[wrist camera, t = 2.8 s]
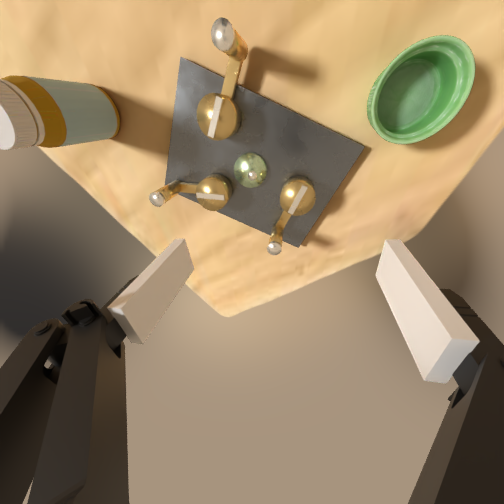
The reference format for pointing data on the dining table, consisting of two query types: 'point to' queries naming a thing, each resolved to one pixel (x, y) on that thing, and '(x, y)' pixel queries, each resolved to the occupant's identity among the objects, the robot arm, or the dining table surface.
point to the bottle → (53, 113)
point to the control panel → (256, 154)
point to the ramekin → (421, 89)
